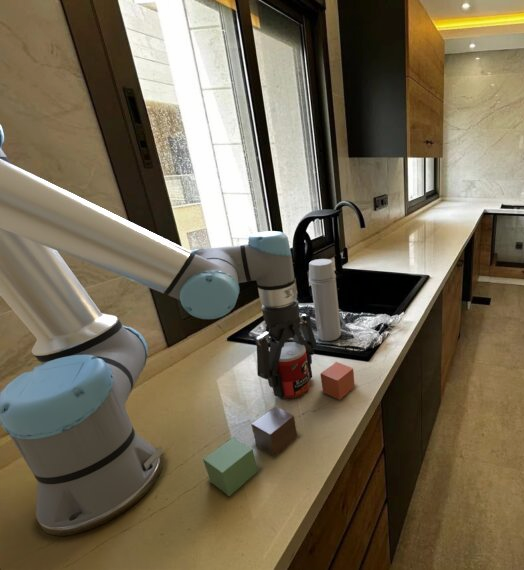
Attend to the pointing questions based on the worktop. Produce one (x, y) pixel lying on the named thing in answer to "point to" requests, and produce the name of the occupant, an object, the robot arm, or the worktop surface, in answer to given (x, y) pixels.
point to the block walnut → (274, 430)
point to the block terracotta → (337, 380)
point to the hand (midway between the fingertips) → (294, 385)
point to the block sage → (231, 465)
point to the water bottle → (325, 299)
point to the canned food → (294, 369)
